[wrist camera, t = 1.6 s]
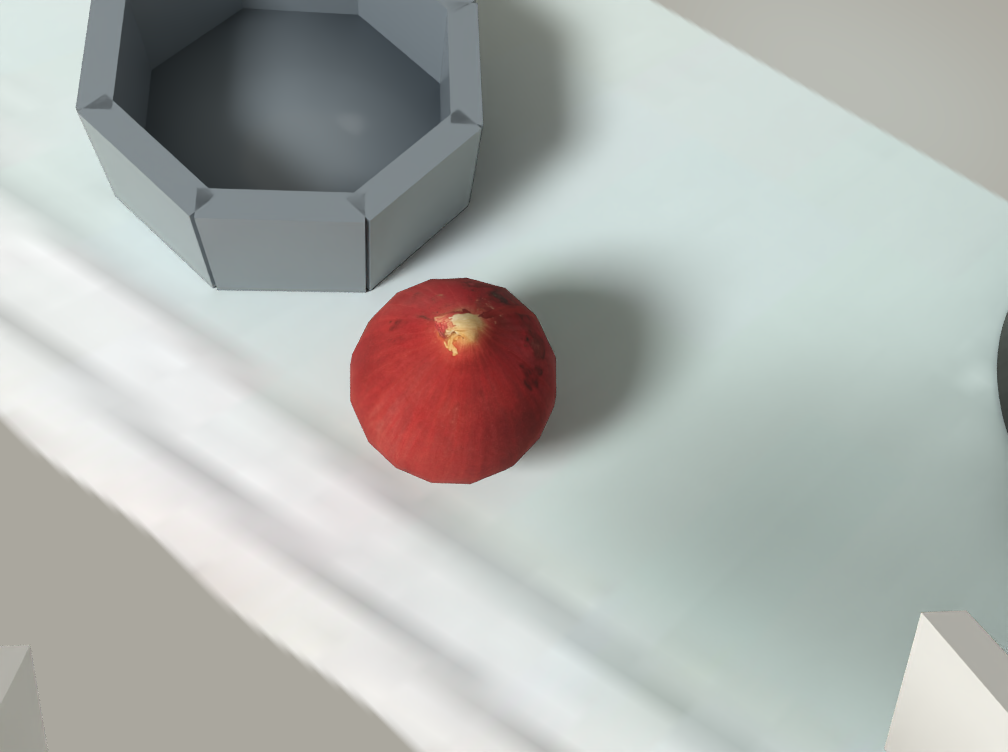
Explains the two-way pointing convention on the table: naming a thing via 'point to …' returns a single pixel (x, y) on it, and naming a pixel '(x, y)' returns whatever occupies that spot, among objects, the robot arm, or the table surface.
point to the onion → (453, 380)
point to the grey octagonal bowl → (286, 131)
